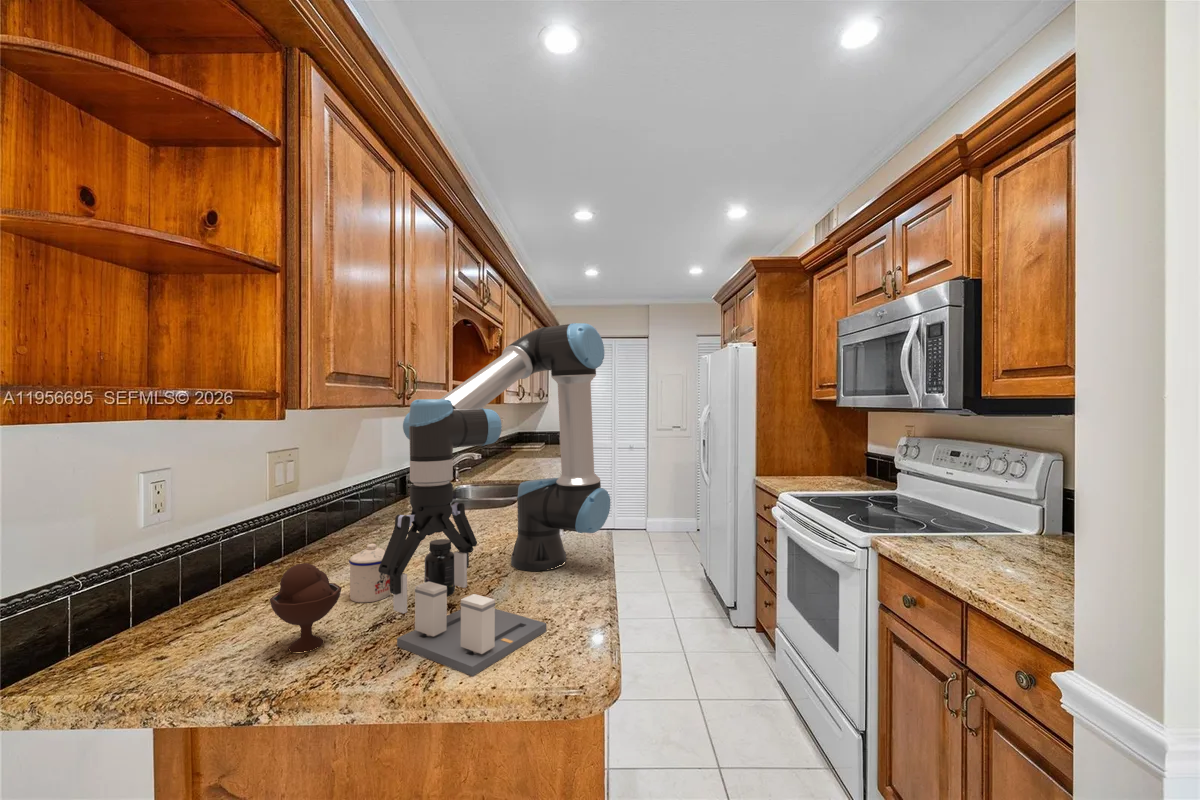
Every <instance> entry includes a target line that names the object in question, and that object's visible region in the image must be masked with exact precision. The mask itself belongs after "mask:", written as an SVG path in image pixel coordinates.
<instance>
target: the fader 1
mask: <svg viewBox="0 0 1200 800" xmlns="http://www.w3.org/2000/svg"><path fill="white" fill-rule="evenodd" d="M447 599H448V597H447V586H444V585H440V584H436V583H433V582H429V581H428V582H426V583H424V582H422V583H421V584H418V585H415V586H414V630H416V631H419V632H422V633H425V634H427V636H436V635H438V634H440V633H442V632H444V631H446V630H447V613H448V611H447V610H448V604H447V603H448V602H447Z"/></svg>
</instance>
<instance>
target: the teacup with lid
mask: <svg viewBox="0 0 1200 800" xmlns="http://www.w3.org/2000/svg"><path fill="white" fill-rule="evenodd" d="M385 551H386V549H385V550H384V549H382V548H380V547H377V544H376V543H368V544H367V545H366V548H365V549H363V550H361V551H359V552H357V553H355V554H353V555H352V556H351V557H350V558H349V560H348V563H349V564H350V567H349V569H350V570H349V573H350V574H349V579H350V580H349V598H350V601H352V602H355V603H372V602H377V601H380V600H383V599H386V598H387V597H389V596H390V595H391V594H392V593H391V592H390V576H389V575H387V574H383V573H380V572H379V571H378V569H379V566H380V564H381V561H382V559H383V556H384V554H385Z"/></svg>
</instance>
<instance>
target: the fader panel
mask: <svg viewBox="0 0 1200 800" xmlns="http://www.w3.org/2000/svg"><path fill="white" fill-rule="evenodd" d="M546 632H547V622H543V621H539V620H537V619H533V618H529V617H526V616H521V615H518V614H515V613H513V612H509V611H505V610H501V609H498V608H495V647H493V648H492V649H490V650H488V651H486V652H485V653H483V654H480V653H476V654H474V653H473V651H472V650H469V649H466V648H463V647H461V609H459V610H457V611H455V612H451V613H450V614H448V615H447V630H446V631H444V632H442V633H440V634H438V635H436V636H427V634H425V633H422V632H419V631H416V630H415V629H414V630H412V631H410V632H407V633H405V634H402V635H401V636H398V637H396V647H397V646H398V647H397V648H400V649H403V650H405V651H407V652H410V653H413V654H415V655H418V656H419V657H422V658H425V659H428V660H431V661H432V662H436V663H438V664H441V665H442V666H445V667H448V668H450V669H453V670H456V671H458V672H461V673H463V674H465V675H467V676H471V677H474V676H475V675H477V674H479V673H480V672H482V671H484V670H485V669H487V668H489V667H490V666H492V665H493V664H495V663H497V662H498V661H500V660H502V659H503V658H505V657H507V656H508V655H510V654H511V653H514V652H516V650H518V649H520V648H521V647H523V646H525V645H526V644H528V643H529V642H531V641H533V640H535V639H536V638H537V637H539V636H540V635H542V634H544V633H546Z"/></svg>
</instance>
